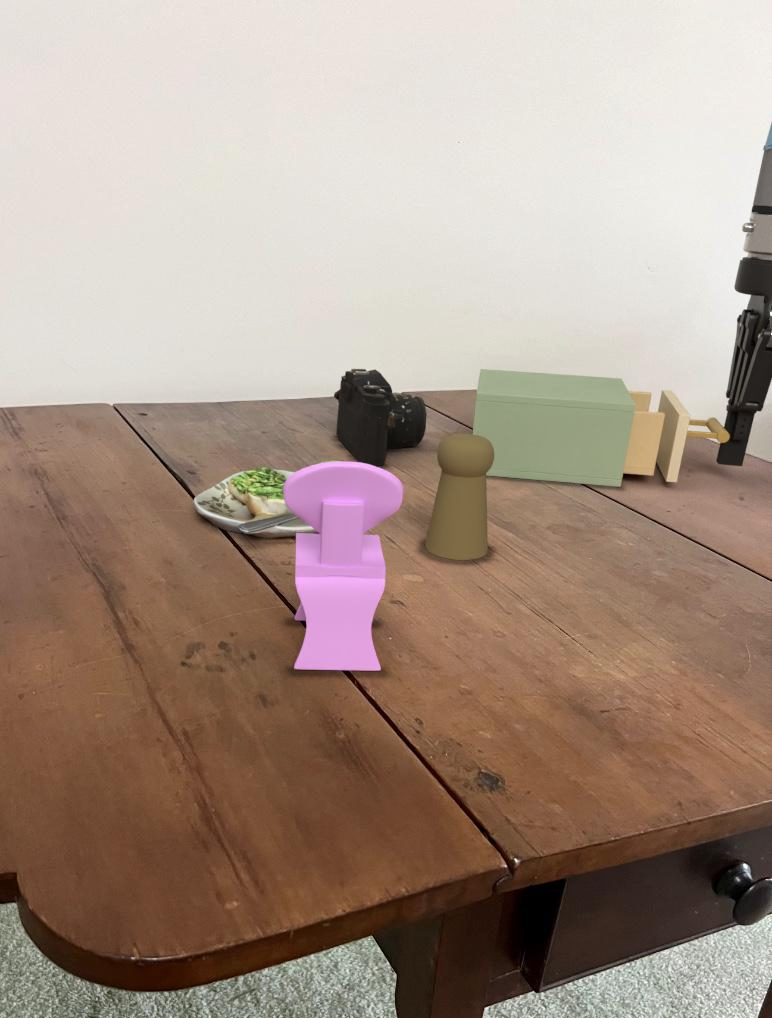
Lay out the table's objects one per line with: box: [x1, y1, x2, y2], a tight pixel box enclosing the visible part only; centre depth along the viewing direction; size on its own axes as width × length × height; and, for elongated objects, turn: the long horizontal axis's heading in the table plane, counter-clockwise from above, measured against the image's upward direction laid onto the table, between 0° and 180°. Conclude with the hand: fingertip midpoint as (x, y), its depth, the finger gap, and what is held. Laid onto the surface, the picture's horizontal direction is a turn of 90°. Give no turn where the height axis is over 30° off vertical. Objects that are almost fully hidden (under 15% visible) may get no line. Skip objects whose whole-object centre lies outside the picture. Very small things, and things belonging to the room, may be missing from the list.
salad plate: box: [193, 459, 346, 539], centre depth 94 cm, size 19×18×5 cm
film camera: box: [333, 368, 428, 467], centre depth 118 cm, size 18×12×10 cm
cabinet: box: [471, 368, 635, 488], centre depth 114 cm, size 18×15×10 cm
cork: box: [424, 433, 494, 561], centre depth 86 cm, size 6×6×11 cm
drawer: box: [623, 389, 730, 483], centre depth 112 cm, size 22×14×8 cm, turn 79°
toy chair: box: [283, 460, 404, 672], centre depth 67 cm, size 8×9×15 cm
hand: (729, 463), depth 111 cm, fingers closed
